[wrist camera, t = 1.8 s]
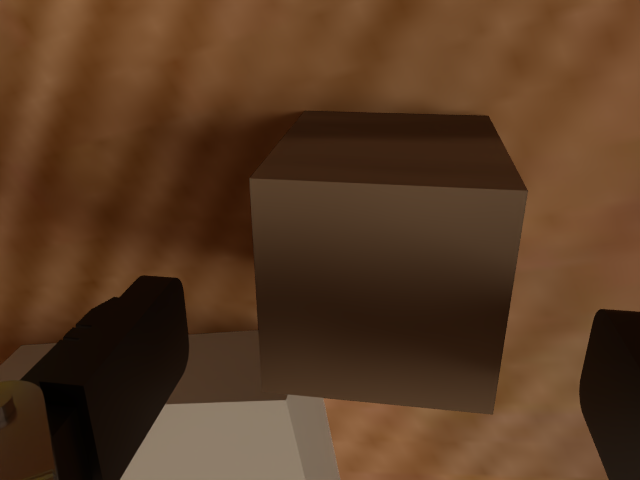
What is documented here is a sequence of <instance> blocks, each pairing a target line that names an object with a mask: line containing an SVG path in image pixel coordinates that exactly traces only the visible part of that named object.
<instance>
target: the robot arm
mask: <svg viewBox="0 0 640 480" xmlns="http://www.w3.org/2000/svg"><path fill="white" fill-rule="evenodd" d="M188 357H189V337H188V328H187V318H186V309H185V300H184V291H183V286H182V283H181V281H180V280H179V279H178V278H171V277H157V276H140V277H139V278H138V279H137V280H136V281H135V282H134V283H133V284H132V285H131V286H130V287H129V288H128V289H127V290H126V291H125V292H124V293H123V294H122V295H121V296H120V297H119V298H118V297H113V298H111V299H110V300H108V301H106V302H104V303H102V304H100V305H98V306H97V307H95V308H93V309H91V310H90V311H89V312H88V313H87V314H86V315H85V316H84V317H83V318H82V319H81V320H80V321H79V322H78V323H77V324H76V328H74V327H73V328H72V329H71V330H70V331H69V332H68V333H67V334H66V335H65V336H64V337H63V340H60V341H59V342H58V343H57V344H56V345H55V346H54V347H53V348H52V349H51V350H50V351H49V352H48V353H47V354H46V355H44V356H43V357H42V358H41V359H40V360H39V361H38V362H37V363H36V364H35V365H34V366H33V367H32V368H31V369H30V370H29V371H28V372H27V373H26V374H25V375H24V376H23V377H22V378H21V379H20V380H11V381H2V382H0V480H120V479H121V477H122V475H123V474H124V472H125V470H126V469H127V467H128V465H129V464H130V462H131V460H132V459H133V457H134V455H135V454H136V452H137V450H138V449H139V447H140V445H141V444H142V442H143V440H144V439H145V437H146V435H147V434H148V432H149V430H150V429H151V427H152V426H153V424H154V422H155V421H156V419H157V417H158V416H159V414H160V412H161V411H162V409H163V407H164V406H165V404H166V402H167V401H168V399H169V397H170V396H171V394H172V392H173V391H174V389H175V387H176V386H177V384H178V382H179V381H180V379H181V377H182V376H183V374H184V372H185V369H186V366H187V362H188ZM579 395H580V405H581V410H582V413H583V416H584V418H585V421H586V423H587V426H588V428H589V431H590V433H591V436H592V438H593V441H594V443H595V446H596V448H597V451H598V453H599V456H600V458H601V461H602V463H603V466H604V468H605V471H606V473H607V476H608V478H609V480H640V312H635V311H621V310H607V309H600V310H598V312H597V313H596V315H595V317H594V320H593V324H592V329H591V333H590V338H589V342H588V347H587V351H586V356H585V360H584V365H583V369H582V374H581V379H580V389H579Z"/></svg>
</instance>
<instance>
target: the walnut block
mask: <svg viewBox="0 0 640 480" xmlns="http://www.w3.org/2000/svg"><path fill="white" fill-rule="evenodd" d="M249 182H250V199H251V216H252V233H253V249H254V266H255V283H256V300H257V317H258V333H259V350H260V367H261V384H262V392H267V393H278V394H288V395H298V396H308V397H319V398H329V399H339V400H350V401H360V402H370V403H380V404H391V405H401V406H411V407H421V408H432V409H442V410H452V411H462V412H473V413H483V414H493V411H494V404H495V398H496V391H497V385H498V379H499V372H500V366H501V359H502V353H503V347H504V340H505V334H506V327H507V321H508V315H509V308H510V302H511V295H512V289H513V283H514V276H515V270H516V264H517V257H518V251H519V244H520V238H521V232H522V225H523V219H524V212H525V206H526V200H527V193H528V190H527V188H526V186H525V184H524V182H523V181H522V179H521V177H520V175H519V173H518V171H517V169H516V167H515V165H514V163H513V162H512V160H511V158H510V156H509V154H508V152H507V150H506V148H505V146H504V144H503V143H502V141H501V139H500V137H499V135H498V133H497V131H496V129H495V127H494V125H493V124H492V122H491V120H490V118H489V116H476V115H439V114H403V113H366V112H330V111H304V112H303V113H302V115H301V116H300V117H299V118H298V120H297V121H296V122H295V123H294V124H293V126H292V127H291V128H290V129H289V131H288V132H287V133H286V134H285V135H284V137H283V138H282V139H281V140H280V142H279V143H278V144H277V145H276V146H275V148H274V149H273V150H272V151H271V152H270V154H269V155H268V156H267V157H266V159H265V160H264V161H263V162H262V163H261V165H260V166H259V167H258V168H257V170H256V171H255V172H254V173H253V174H252V176H251V177H250V178H249Z"/></svg>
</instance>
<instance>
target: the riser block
mask: <svg viewBox="0 0 640 480" xmlns="http://www.w3.org/2000/svg"><path fill="white" fill-rule="evenodd" d="M188 337H189V357H188V362H187V366H186V369H185V372H184V374H183V376H182V377H181V379H180V381H179V382H178V384H177V386H176V387H175V389H174V391H173V392H172V394H171V396H170V397H169V399H168V401H167V402H166V404H165V406H164V407H163V409H162V411H161V412H160V414H159V416H158V417H157V419H156V421H155V422H154V424H153V426H152V427H151V429H150V430H149V432H148V434H147V435H146V437H145V439H144V440H143V442H142V444H141V445H140V447H139V449H138V450H137V452H136V454H135V455H134V457H133V459H132V460H131V462H130V464H129V465H128V467H127V469H126V470H125V472H124V474H123V475H122V477H121V479H120V480H340V476H339V471H338V466H337V462H336V457H335V452H334V447H333V442H332V438H331V433H330V428H329V423H328V419H327V414H326V409H325V404H324V399H323V398H319V397H308V396H298V395H288V394H278V393H267V392H262V384H261V367H260V350H259V333H258V330H252V331H237V332H221V333H205V334H190V335H188ZM56 344H57V343H49V344H34V345H21V346H20V347H19V348H18V349H17V350H16V351H15V352H14V353H13V354H12V355H11V356H10V357H9V358H8V359H7V360H5V361H4V362H3V363H2V364H1V365H0V382H2V381H11V380H20V379H21V378H22V377H23V376H24V375H25V374H26V373H27V372H28V371H29V370H30V369H31V368H32V367H33V366H34V365H35V364H36V363H37V362H38V361H39V360H40V359H41V358H42V357H43V356H44V355H46V354H47V353H48V352H49V351H50V350H51V349H52V348H53V347H54V346H55V345H56Z"/></svg>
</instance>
